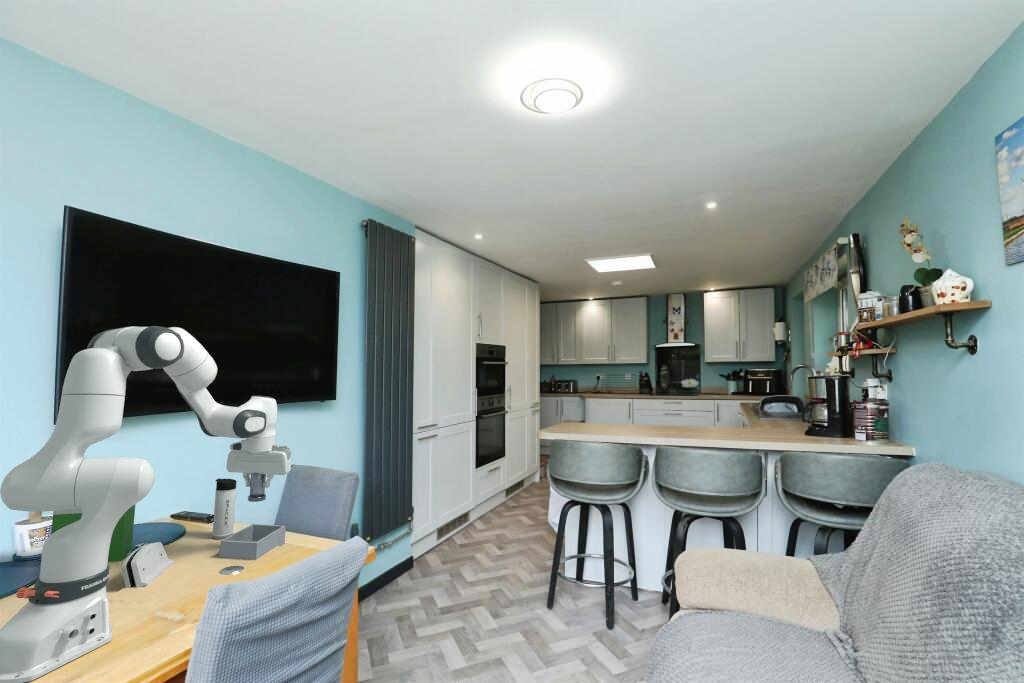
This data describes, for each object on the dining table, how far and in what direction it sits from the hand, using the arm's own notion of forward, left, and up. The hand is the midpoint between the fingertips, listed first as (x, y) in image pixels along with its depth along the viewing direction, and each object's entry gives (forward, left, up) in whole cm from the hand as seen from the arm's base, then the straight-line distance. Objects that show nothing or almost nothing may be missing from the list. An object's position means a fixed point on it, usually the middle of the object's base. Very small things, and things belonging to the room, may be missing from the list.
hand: (257, 486), depth 157 cm
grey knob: (0, 0, -4) cm, 4 cm away
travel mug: (+11, +18, -21) cm, 30 cm away
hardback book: (-13, +43, -21) cm, 50 cm away
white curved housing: (-22, +17, -21) cm, 35 cm away
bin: (0, 0, -21) cm, 21 cm away
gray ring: (-17, -4, -21) cm, 27 cm away
